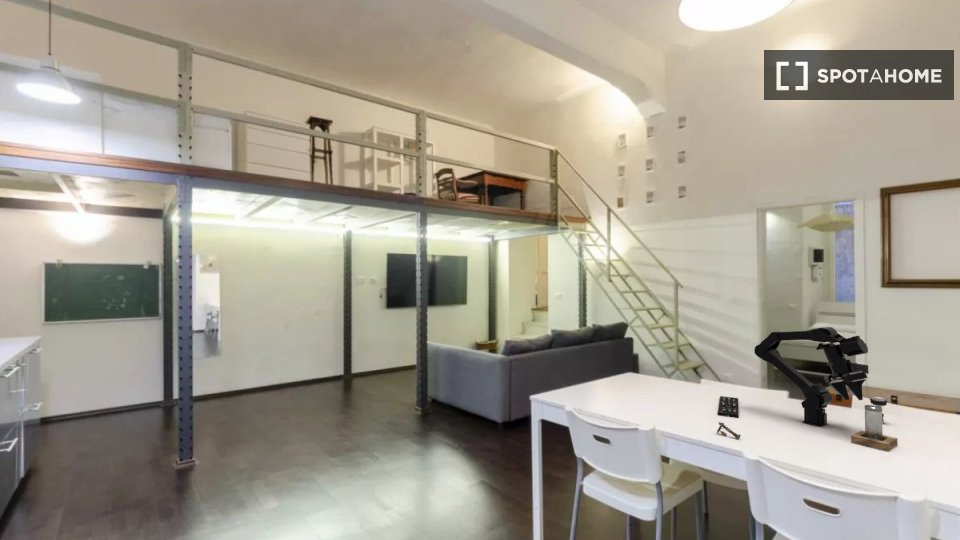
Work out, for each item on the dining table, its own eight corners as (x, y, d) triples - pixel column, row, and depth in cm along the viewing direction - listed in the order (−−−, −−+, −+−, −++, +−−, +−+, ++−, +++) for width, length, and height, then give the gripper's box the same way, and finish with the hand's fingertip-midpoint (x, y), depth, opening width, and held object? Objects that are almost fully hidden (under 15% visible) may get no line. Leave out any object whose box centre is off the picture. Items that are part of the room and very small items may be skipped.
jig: (851, 442, 159) (851, 435, 159) (861, 437, 164) (861, 430, 164) (888, 451, 150) (887, 444, 150) (897, 445, 156) (897, 438, 156)
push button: (887, 426, 176) (886, 400, 176) (869, 423, 180) (868, 398, 180) (888, 422, 181) (887, 397, 181) (870, 419, 184) (870, 395, 185)
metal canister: (861, 441, 160) (860, 405, 160) (874, 441, 160) (873, 404, 160) (873, 446, 155) (872, 408, 155) (886, 446, 155) (886, 408, 155)
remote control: (717, 416, 190) (717, 412, 190) (720, 399, 218) (720, 395, 218) (738, 419, 187) (738, 414, 187) (738, 401, 214) (738, 397, 214)
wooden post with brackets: (716, 429, 170) (720, 420, 169) (736, 444, 164) (741, 434, 163) (713, 430, 169) (718, 421, 168) (733, 445, 163) (738, 435, 161)
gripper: (873, 352, 163) (893, 395, 159) (846, 356, 181) (863, 395, 176) (840, 358, 165) (858, 401, 160) (816, 362, 183) (832, 401, 178)
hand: (854, 399), depth 169 cm, fingers open, 9 cm apart
